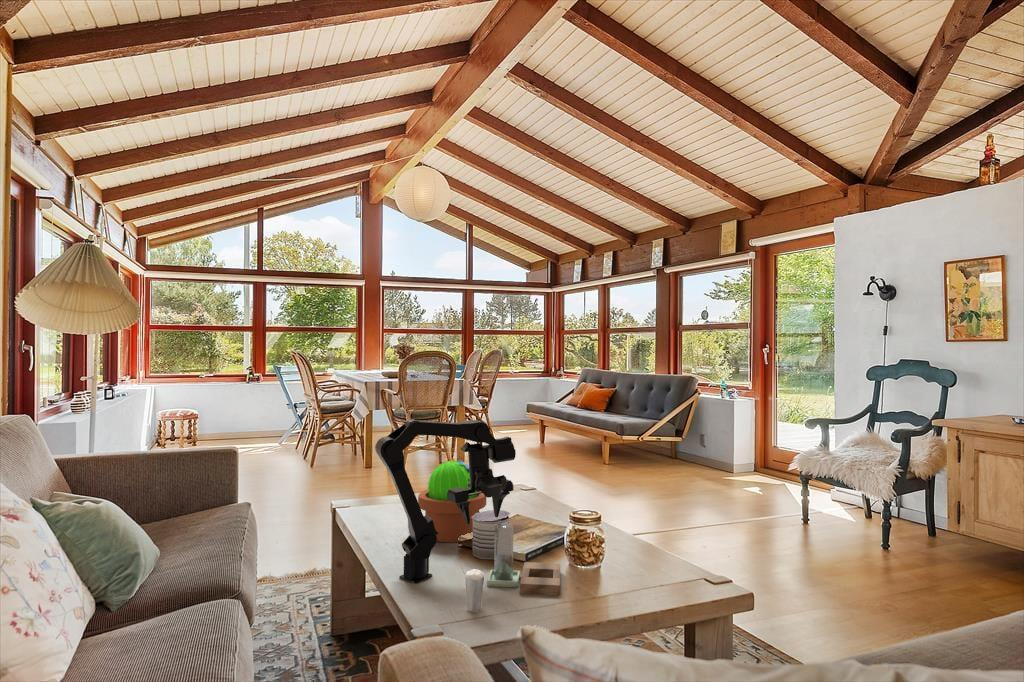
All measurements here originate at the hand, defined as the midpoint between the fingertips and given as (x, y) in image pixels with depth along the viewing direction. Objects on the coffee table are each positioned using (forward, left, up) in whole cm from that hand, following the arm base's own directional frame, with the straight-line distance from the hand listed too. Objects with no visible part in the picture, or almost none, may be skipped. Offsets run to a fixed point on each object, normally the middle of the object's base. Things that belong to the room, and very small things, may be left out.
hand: (482, 520), depth 178 cm
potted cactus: (+19, +27, -14) cm, 35 cm away
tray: (-4, -11, -13) cm, 18 cm away
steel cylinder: (-4, -11, -13) cm, 17 cm away
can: (+12, +6, -14) cm, 19 cm away
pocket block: (+1, -19, -13) cm, 23 cm away
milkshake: (-23, -15, -14) cm, 31 cm away
